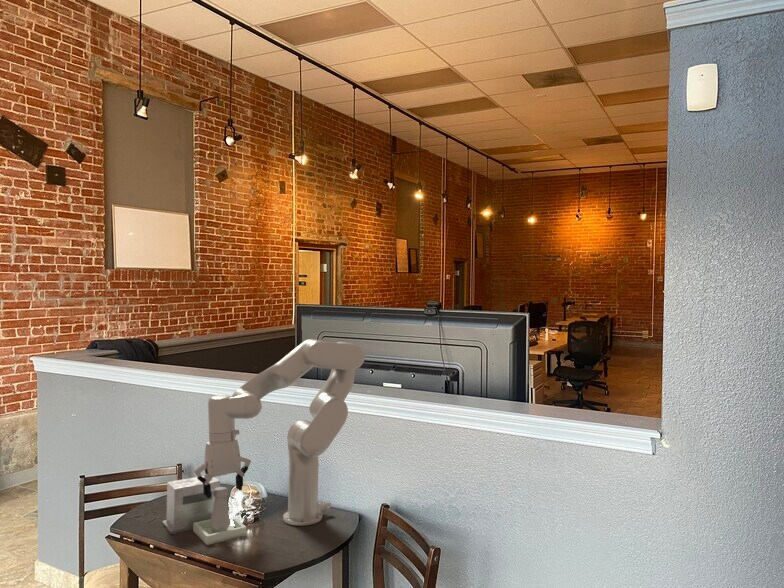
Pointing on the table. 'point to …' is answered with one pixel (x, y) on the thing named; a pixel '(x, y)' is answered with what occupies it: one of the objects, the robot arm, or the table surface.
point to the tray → (210, 537)
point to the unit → (188, 504)
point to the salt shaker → (220, 511)
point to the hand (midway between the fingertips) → (223, 492)
